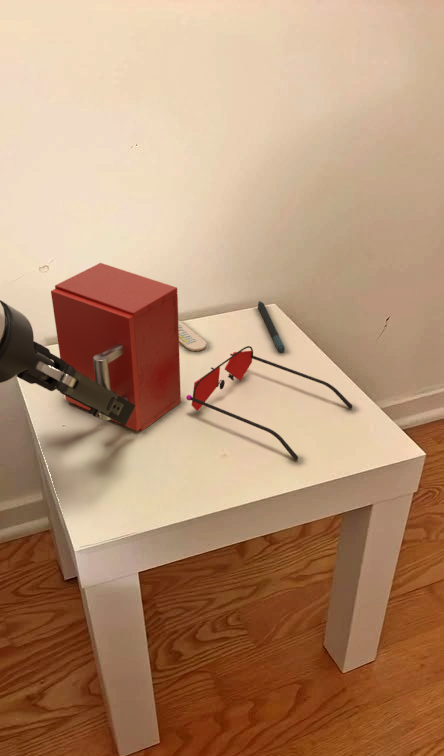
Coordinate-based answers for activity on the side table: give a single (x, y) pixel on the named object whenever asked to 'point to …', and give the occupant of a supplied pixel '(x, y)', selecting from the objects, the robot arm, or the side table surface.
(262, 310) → the pen
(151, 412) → the cabinet
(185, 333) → the beige remote control
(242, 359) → the glasses
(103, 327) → the door
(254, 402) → the side table surface
